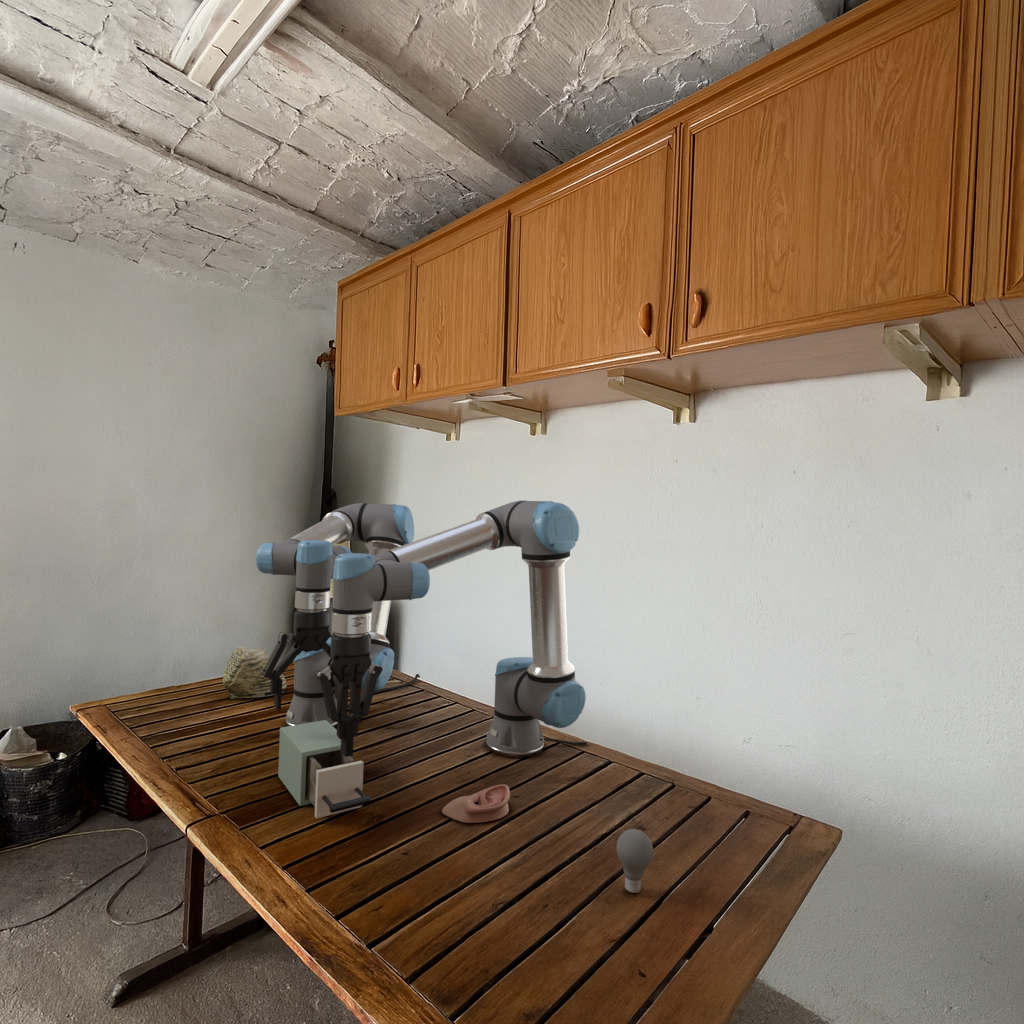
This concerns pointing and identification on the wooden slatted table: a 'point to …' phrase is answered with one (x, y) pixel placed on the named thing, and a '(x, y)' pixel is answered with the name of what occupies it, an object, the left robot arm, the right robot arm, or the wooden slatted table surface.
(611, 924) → the wooden slatted table surface
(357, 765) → the drawer
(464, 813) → the anatomical model
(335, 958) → the wooden slatted table surface
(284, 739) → the cabinet
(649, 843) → the light bulb
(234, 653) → the fossil
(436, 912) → the wooden slatted table surface
